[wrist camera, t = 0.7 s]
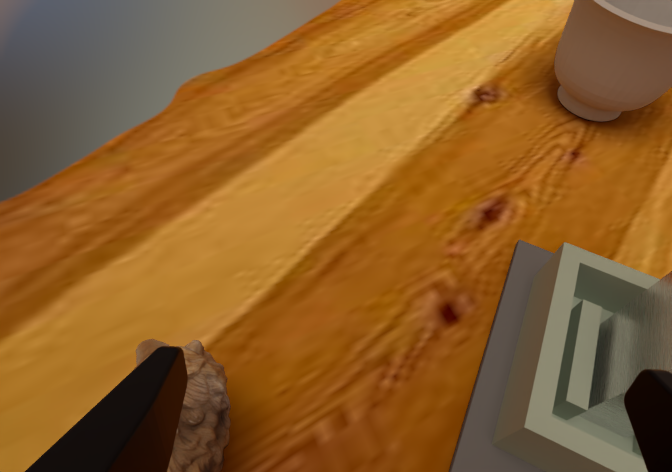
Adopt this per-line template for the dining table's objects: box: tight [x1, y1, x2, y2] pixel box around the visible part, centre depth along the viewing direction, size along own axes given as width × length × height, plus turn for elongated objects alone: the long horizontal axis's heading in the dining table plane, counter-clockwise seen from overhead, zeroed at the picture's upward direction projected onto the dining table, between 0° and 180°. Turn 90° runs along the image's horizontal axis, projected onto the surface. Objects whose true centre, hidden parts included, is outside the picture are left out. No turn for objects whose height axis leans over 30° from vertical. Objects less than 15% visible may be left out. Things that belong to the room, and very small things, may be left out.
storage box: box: [492, 242, 660, 472], centre depth 23 cm, size 11×9×4 cm
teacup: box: [554, 0, 672, 122], centre depth 37 cm, size 12×15×10 cm
